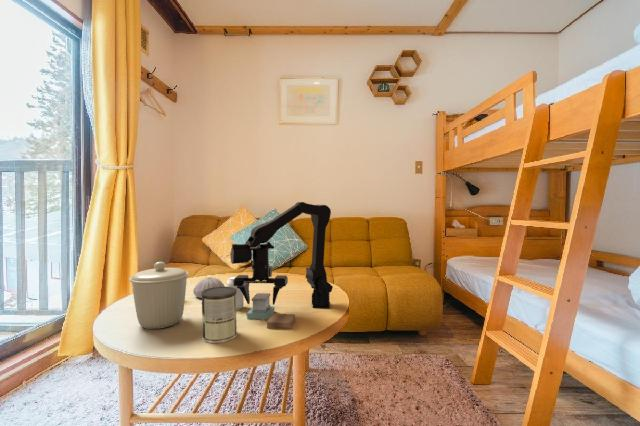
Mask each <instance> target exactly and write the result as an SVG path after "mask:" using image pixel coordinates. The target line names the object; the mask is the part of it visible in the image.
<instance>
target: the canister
mask: <svg viewBox="0 0 640 426" xmlns="http://www.w3.org/2000/svg"><path fill="white" fill-rule="evenodd" d="M189 274H190V272H188V271H187V270H184V268H180V267H166V263H165V262H164V261H157V262H155V263H153V268H150V269H144V270H141V271H138V272H136V273H134V274H133V275H132V276H130V277H129V278H128V281H130V283H131V287H132V295H133V301H134V307H135V312H136V318H137V322H138V324H139V325H140V327H142V328H144V329H147V330H148V329H149V330H150V329H151V330H152V329H153V330H154V329H156V330H157V329H164V328H168V327H172V326H174V325H176V324H177V323H179V322H180V321H181V320H182V318H183V315H184V309H185V300H186V292H187V291H186V290H187V279H188V278H187V277H189Z"/></svg>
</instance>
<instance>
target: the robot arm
mask: <svg viewBox="0 0 640 426" xmlns="http://www.w3.org/2000/svg"><path fill="white" fill-rule="evenodd" d="M302 214H305V215H310V219H311V223H312V225H313V232H312V235H313V236H312V253H311V254H312V255H311V264H310V266H309V267H306V268H305V271H306V275H305V279H306V282H307V283H308V284H309V285H310V287H311V289H313V290H312V291H313V292H312V293H311V305H312V308H314V309H317V308H318V309H330V307H331V302H330V294H331V293H332V291H333V288H334V287H333V285H332V284H331V283H330V282H329V281H328V278H327V271H326V268H325V247H326V246H325V245H326V229H327V227H328V224H329V222H330V218H331V214H332V212H331V208H330V207H329V206H328V205H326V204H311V203H307V202H304V201H298V202H296V203H295V204H294V205H292V206H291V207H289V208H288V209H286V210H284V211H283V212H282V213H280V214H278V215H277V216H276V217H275V218H273V219H271V220H270V221H269V220H268V221H266V222H263V223H260V224H259V225H256V226H254V227H253V228H252V229H251V230H250V231H251V232H250V236H249V237H248V238H247V240H246V242H245V243H238V244H237V243H232V244H231V249H230V253H229V255H230V262H231V264H232V265H235V264H245V263H246V264H247V263H249V262H250V261H251V260H252V265H251V269H252V277H249V275H248V274H239V275H236V276H237V277H236V278H234V280H233V286H237V288H239V289H240V290H241V292H242V293H243V296H244V299H245V302H246V303H247V305H250V302H251V300H250V284H273V289H272V292H273V293H272V306H274V305H275V303H276V301H277V297H278V294H279V292H280V290H282V289H283V288H284V287H286V286H287V285H288V283H289V281H288V279H289V278H288V275H278V274H277V275H276V276H275V277H272V276H273V275H272V274H273V268H272V267H271V266H270V259H269V256H270V255H269V254H270V253H269V250H271V249H275V246H274V245H272V243H271V242H270V239H272V238H273V237H274V235H275V234H276V233H277V231H279V229H281V228H282V227H284V226H285V225H287V224H288V223H290V222H292V221H293V220H294V219H296V218H297V217H299V216H301V215H302Z"/></svg>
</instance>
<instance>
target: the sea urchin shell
mask: <svg viewBox="0 0 640 426" xmlns="http://www.w3.org/2000/svg"><path fill="white" fill-rule="evenodd" d="M213 287H226V285H224V283H223V282H222V280H220V279H219V278H217V277H213V276H212V277H211V276H210V277H205V278H203V279H201V280H200V281H199V282H197V284H196V285H195V286H194V288H193V290H192V291H193V295H194V296H195V297H197V298H199V299H202V296H201V292H202V291H204V290H206V289H209V288H213Z"/></svg>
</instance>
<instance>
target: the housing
mask: <svg viewBox="0 0 640 426" xmlns="http://www.w3.org/2000/svg"><path fill="white" fill-rule="evenodd" d="M270 297H271V292H270V293H268V292H267V293H266V292H262V293H261V292H260V293H259V292H258V293H257V292H256V294H255V295H254V296H253V297H252V298H251V301H252V307H253V310H252V313H266V312H267V311H268V309H269V308H270V306H271V304H270Z"/></svg>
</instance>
